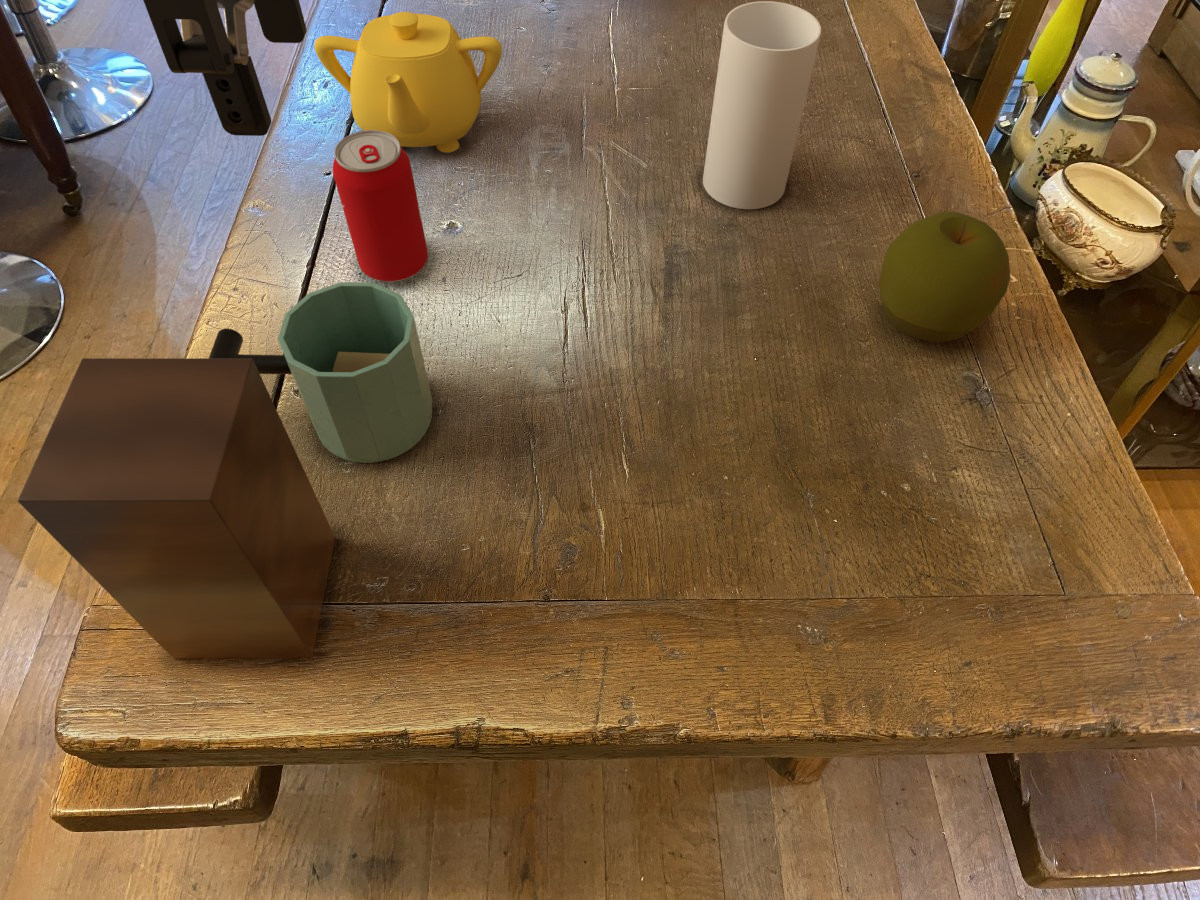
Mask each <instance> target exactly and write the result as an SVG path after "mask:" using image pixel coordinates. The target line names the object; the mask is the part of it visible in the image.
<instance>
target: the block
mask: <svg viewBox="0 0 1200 900" xmlns="http://www.w3.org/2000/svg"><path fill="white" fill-rule="evenodd" d="M388 355H389V354H382V353H360V352H338V354H337V357H336V360H335V364H334V367H333V370H332V372H355V371H357V370H360V369H362V368H365V367H368V366H370V365H373V364H376V363H378V362H381V361H383V360H384V359H385V358H386V357H387V356H388Z"/></svg>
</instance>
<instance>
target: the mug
mask: <svg viewBox="0 0 1200 900" xmlns="http://www.w3.org/2000/svg"><path fill="white" fill-rule="evenodd" d="M418 333H419V332H418V328H417V324H416V321H415V315H414V314H413V312H412V311H411V309H410V307H409V306H408V304H407V302H406V301H405V299H404V298H403V296H402V295H401V294H400V293H398V292H396V291H393V290H392V289H389V288H387V287H384V286H382V285H380V284H378V283H375V282H359V281H358V282H356V281H354V282H353V281H351V282H350V281H341V282H338V283H335V284H331V285H329V286H326V287H323V288H320V289H318V290H314V291H311V292H309V293H307V294H306V295H305V296H304V297H303V298H301V299H300V300H299V301H298V302H297V303H296V304H295V305H294V306H293V307H291V308H290V309H289V310H288V311H287V312H286V313H285V314H284V318H283V320H282V324H281V327H280V330H279V334H278V337H277V341H278V344H279V347H280V349H281V351H282V354H240V351H241V349H242V346H243V342H244V338H243V336H242V334H241V333H239V331H237V330H235V329H231V328H222V329H219V330H218V332H217V334H216V337H215V339H214V343H213V346H212V348H211V351H210V354H209V356H208V358H214V359H253V360H254V363H255V365H256V367H257V369H258V371H259V374H260V375H292V378H293V381H294V382H295V385H296V387H297V390H298V392H299V395H300V397H301V400H302V401H303V405H304V407H305V409H306V412H307V414H308V416H309V419H310V421H311V423H312V426H313V427H314V430H315V432H316V434H317V436H318V439H319V440H320V443H321V445H322V446H323V447H325V449H327V450H328V452H330V453H332V454H333V455H334V456H336V457H338V458H341V459H343V460H345V461H348V462H354V463H362V464H370V463H371V464H372V463H380V462H385V461H388V460H391V459H395V458H397V457H398V456H401V455H403V454H404V453H406V452H408V451H410V450H411V449H412V448H413V447H415V446H416V445H417V444H418V443H419V442H420V441H421V440H422V438H424V436H425V435H426V433H427V431H428V430H429V427H430V425H431V422H432V417H433V403H434V402H433V397H432V391H431V387H430V384H429V383H430V382H429V378H428V375H427V369H426V366H425V365H426V364H425V361H424V355H423V351H422V346H421V343H420V338H419V334H418ZM338 352H360V353H382V354H389V355H388V356H387V357H386V358H385V359H384V360H383V361H381V362H378V363H376V364H373V365H370V366H368V367H365V368H362V369H360V370H357V371H355V372H332V370H333V367H334V364H335V360H336V357H337V354H338Z"/></svg>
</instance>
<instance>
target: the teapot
mask: <svg viewBox="0 0 1200 900" xmlns="http://www.w3.org/2000/svg"><path fill="white" fill-rule="evenodd" d="M313 48H314V51H315V54H316V57H317V58H318V60H319V61H320V63H321V64H322V66H323V67H324V69H326V71H327V72H328V73H329V74H330V75H331V76H332V77H333V78H334V79H335V80H336V81H337V82H338V83H339V84H340V85H341V86H342V88H344V89H345V90H346V91H347V92H348V93H349V94H350V95H349V96H350V105H351V106H350V107H351V112H352V117H353V119H354V121H355V123H356V125H357V126H358V127H359V128H360V129H361V131H366V130H377V131H383V132H386V133H389V134H391V135H393V136H394V137H395V138H396V139H397V140H398V141H399V143H400V146H401V147H402V148H403V147H405V148H424V147H434V146H435V147H436V149H437V151H439V152H442V153H452V152H453V153H454V152H455V151H457V150H458V149H459V148H460V143H459V141H458V140H460V139H462V138H463V137H464V136H466V135H467V134H468V132H469V131H470V129H471V128H472V127H473V125H474V123H475V121H476V119H477V117H478V114H479V111H480V107H481V102H482V93H481V92H482V91H483V89H484V88H485V86H487V83H489V81H490V80H491V78H492V76H493V74H495V72H496V70H497V68H498V67H499V64H500V61H501V58H502V52H503V51H502V50H503V49H502V48H503V47H502V44H501V42H500V41H499V40H498V38H495V37H493V36H473V37H467V38H461V37H460V35H459V33H458V32H457V30H456V29H455V27H454V26H453V25H452V23H451V22H450V21H448V20H446V19H445V18H443V17H441V16H437V15H432V14H424V13H414V12H412V11H411V12H410V11H398V12H395V13H393V14H389V15H388V14H387V15H383V16H379V17H376V18H373V19H371V20H370V21H368V22H367V23H366V25H365V26H364V27H363V29H362V31H361V34H360V37H359V39H354V38H350V37H349V38H348V37H344V36H337V35H321V36H320V37H318V38H317V39H315V41H314V47H313ZM335 51H344V52H349V53H353V54H354V57H353V61H352V66H351V72H350V75H349V73H348V72H347V71H346V70H345V69H344V67H343V66H342V65H341V63H340V61H339V59H338V58H337V56H336V54H335ZM469 51H479V52H483V54H484V59H483V64H482V67H481V70H480V72H479V75H478V72H477V70H476V69H477V68H476V66H475V63H474V60H473V58H472V55H471V54H470V53H471V52H469Z"/></svg>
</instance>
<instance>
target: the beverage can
mask: <svg viewBox="0 0 1200 900" xmlns="http://www.w3.org/2000/svg"><path fill="white" fill-rule="evenodd" d="M332 175H333V178H334V182H335V186H336V189H337V193H338V196H339V199H340V204H341V207H342V210H343V214H344V217H345V222H346V224H347V228H348V232H349V235H350V239H351V243H352V245H353V249H354V253H355V255H356V260H357V263H358V266H359V268H360V270H361V271H362V272H363V274H364V275H366V276H367V277H369V278H370V279H372V280H376V281H379V282H385V283H395V282H401V281H404V280H407V279H410V278H412V277H413V276H416V275H417V274H418V273H419V272H420V271H421V270H422V269H423V268H424V267H425V266H426V264H427V262H428V259H429V251H428V246H427V241H426V236H425V231H424V226H423V220H422V215H421V211H420V210H421V209H420V205H419V201H418V196H417V195H418V194H417V190H416V184H415V179H414V175H413V169H412V164H411V160H410V158H409V155H408V154H407V152H406V151H405V149H403V147H401V146H400V143H399V141H398V140H397V139H396V138H395V137H394V136H393V135H391V134H389V133H386V132H383V131H377V130H366V131H363V130H360V131H356V132H354V133H351V134H349V135H347V136H345V137H344V138H342V139H341V140H340V141H338V143H337V145H336V146H335V147H334V159H333V164H332Z"/></svg>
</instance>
